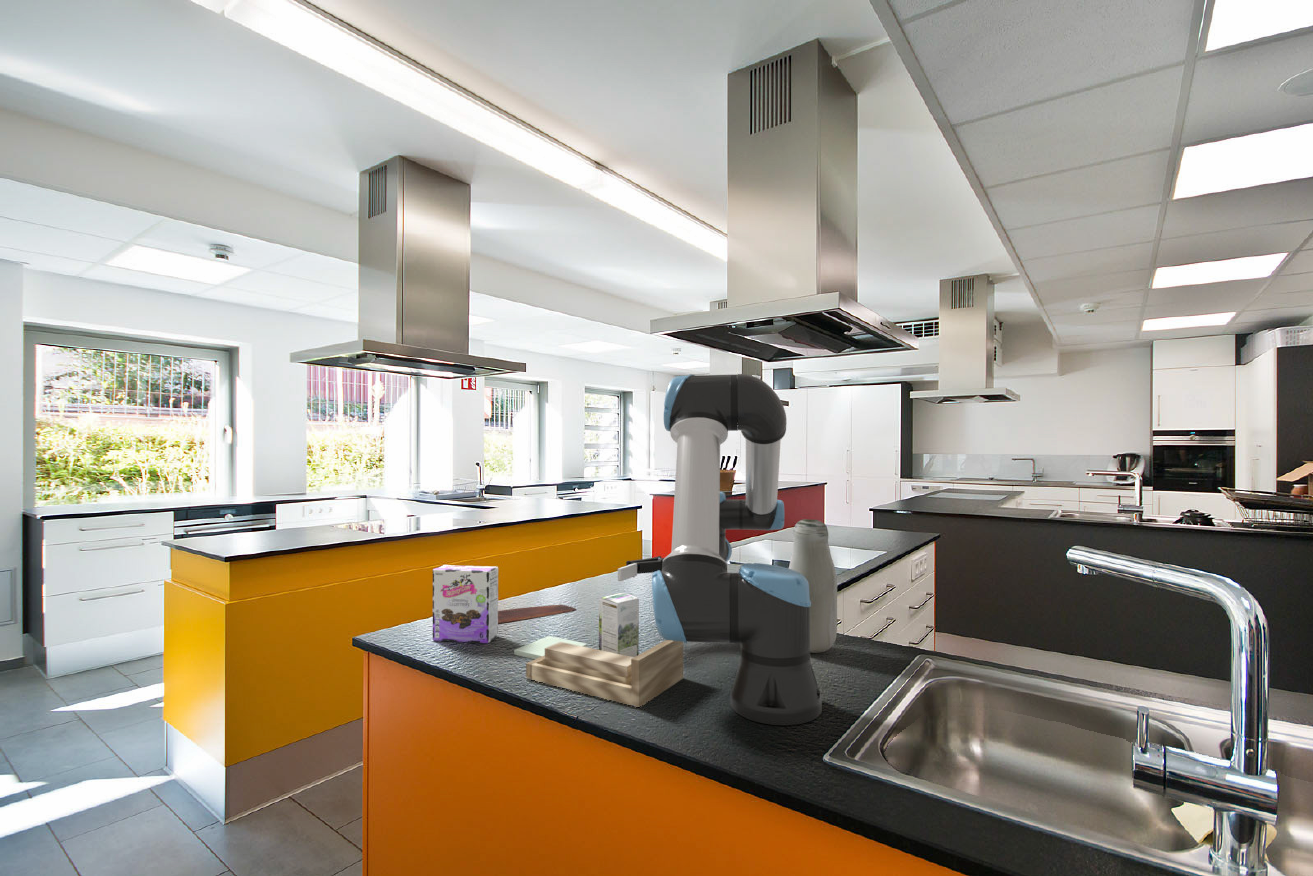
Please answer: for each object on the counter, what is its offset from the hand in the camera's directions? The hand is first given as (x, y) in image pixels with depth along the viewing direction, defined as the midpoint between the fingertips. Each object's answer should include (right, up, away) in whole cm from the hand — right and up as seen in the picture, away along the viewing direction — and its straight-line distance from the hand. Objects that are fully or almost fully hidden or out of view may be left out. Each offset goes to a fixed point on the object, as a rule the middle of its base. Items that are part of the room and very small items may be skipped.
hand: (645, 578), depth 130 cm
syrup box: (-5, -16, -9) cm, 19 cm away
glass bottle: (+36, -16, +2) cm, 39 cm away
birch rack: (-8, -16, -13) cm, 22 cm away
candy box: (-42, -17, +12) cm, 46 cm away
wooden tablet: (-32, -17, +32) cm, 48 cm away
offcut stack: (-10, -16, -16) cm, 25 cm away
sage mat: (-20, -16, +2) cm, 26 cm away
